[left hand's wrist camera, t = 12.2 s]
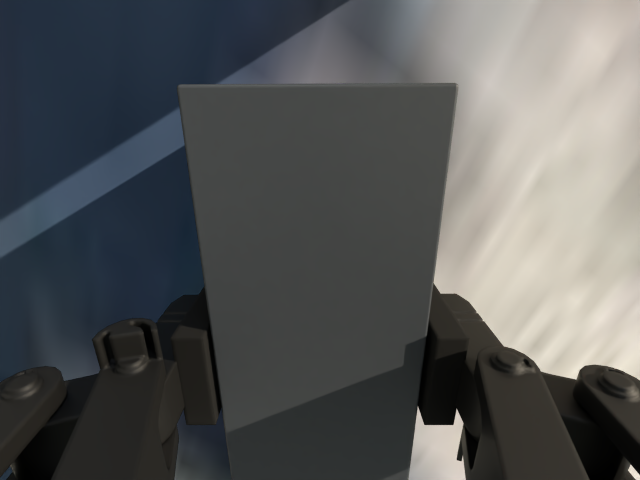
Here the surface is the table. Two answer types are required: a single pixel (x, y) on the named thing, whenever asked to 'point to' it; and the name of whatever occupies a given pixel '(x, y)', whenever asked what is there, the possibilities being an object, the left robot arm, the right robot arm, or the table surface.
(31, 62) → the table surface
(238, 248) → the beam
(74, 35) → the table surface
